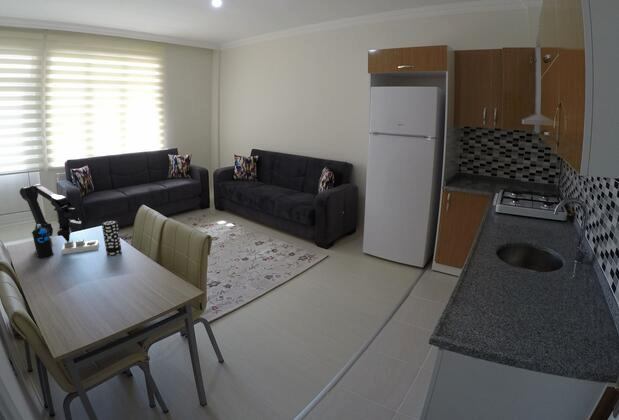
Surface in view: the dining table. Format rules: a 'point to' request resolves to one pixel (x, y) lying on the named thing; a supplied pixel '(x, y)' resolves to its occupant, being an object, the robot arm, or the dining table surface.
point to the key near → (68, 244)
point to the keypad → (80, 248)
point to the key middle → (80, 242)
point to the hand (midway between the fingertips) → (68, 241)
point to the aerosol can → (42, 242)
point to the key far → (91, 242)
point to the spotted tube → (111, 238)
